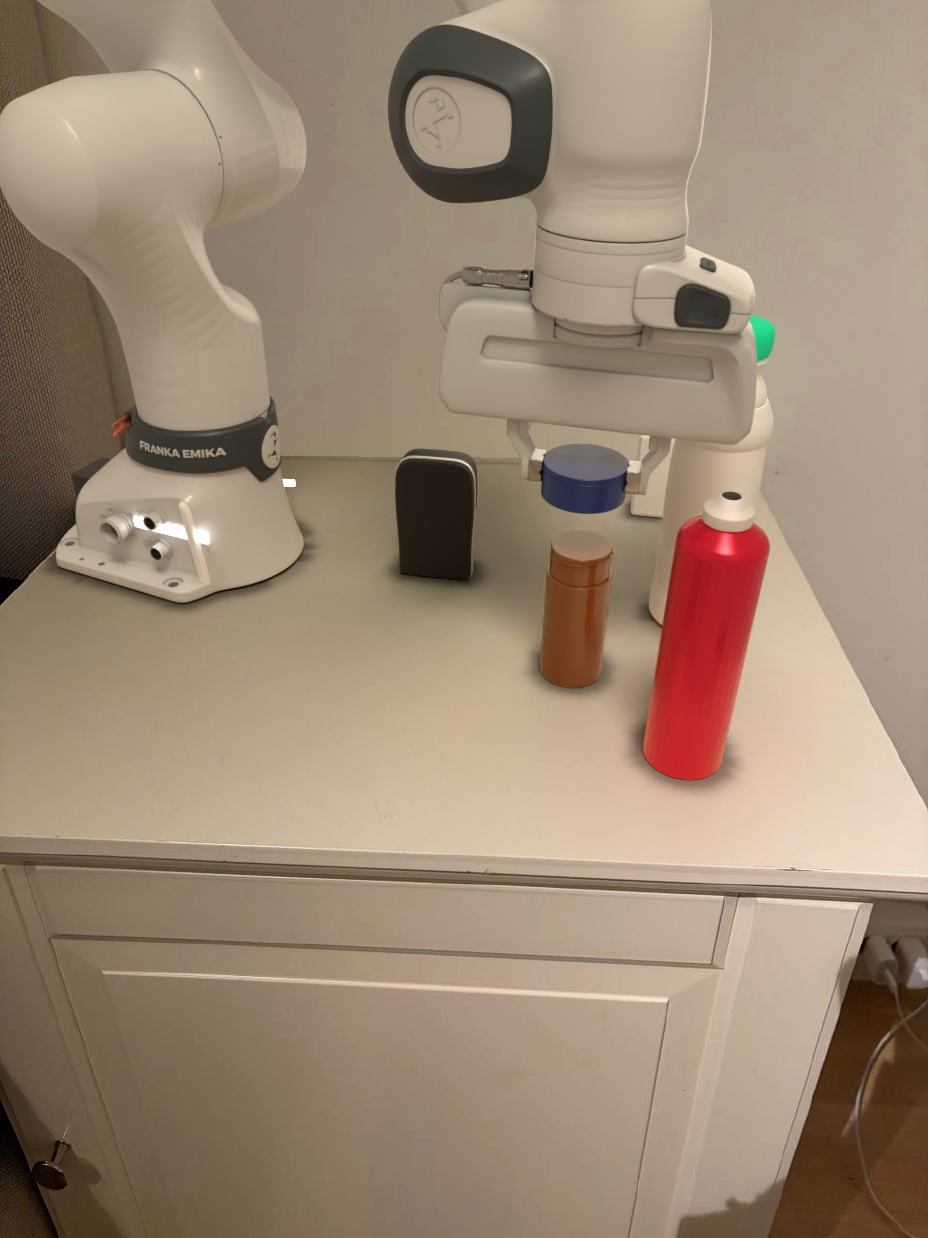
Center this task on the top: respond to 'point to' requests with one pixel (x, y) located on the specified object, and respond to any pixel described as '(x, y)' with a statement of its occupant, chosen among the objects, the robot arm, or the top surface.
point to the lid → (584, 478)
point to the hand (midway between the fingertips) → (584, 484)
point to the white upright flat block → (652, 484)
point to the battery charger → (436, 513)
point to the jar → (576, 608)
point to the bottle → (705, 637)
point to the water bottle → (713, 473)
